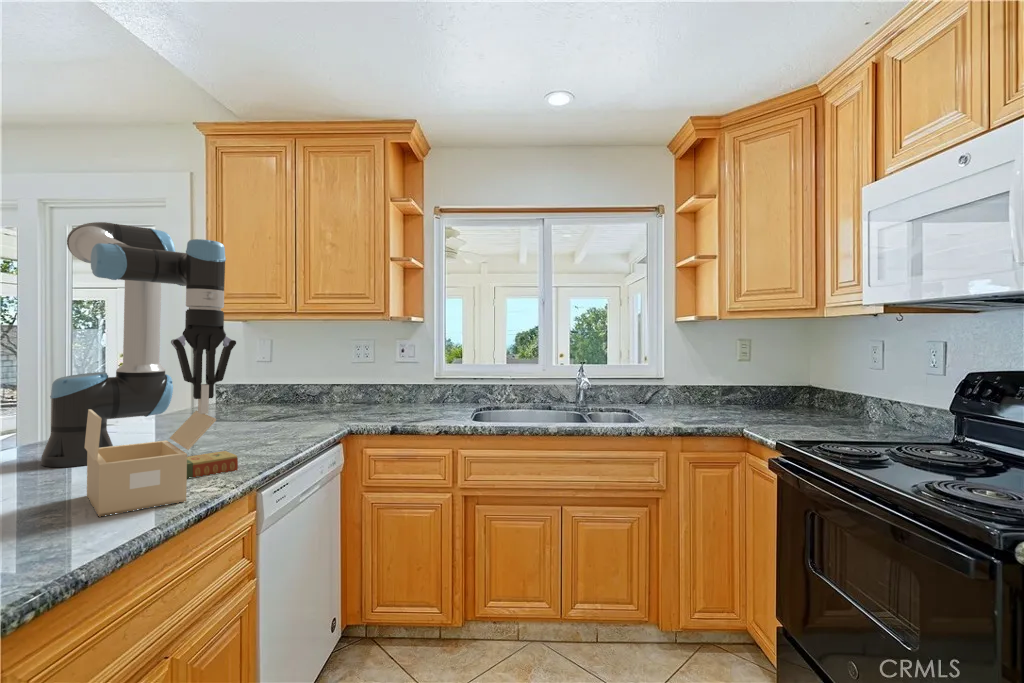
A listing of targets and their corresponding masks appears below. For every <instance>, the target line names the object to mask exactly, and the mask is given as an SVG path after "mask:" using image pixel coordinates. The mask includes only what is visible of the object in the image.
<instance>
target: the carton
mask: <svg viewBox="0 0 1024 683" xmlns="http://www.w3.org/2000/svg"><path fill="white" fill-rule="evenodd" d="M238 461H239V460H238V455H236V454H234V453H232V452H230V451H227V450H223V451H222V450H221V451H215V452H209V453H202V454H195V455H189V456H188V455H187V478H189V477H195V478H197V477H196V476H201V477H204V476H203V475H207V476H211V475H210V474H213V475H217V474H216V473H219V474H222V473H221V472H225V473H229V472H228V471H230V472H235V470H236V471H238V470H239V462H238ZM189 479H190V478H189Z"/></svg>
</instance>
